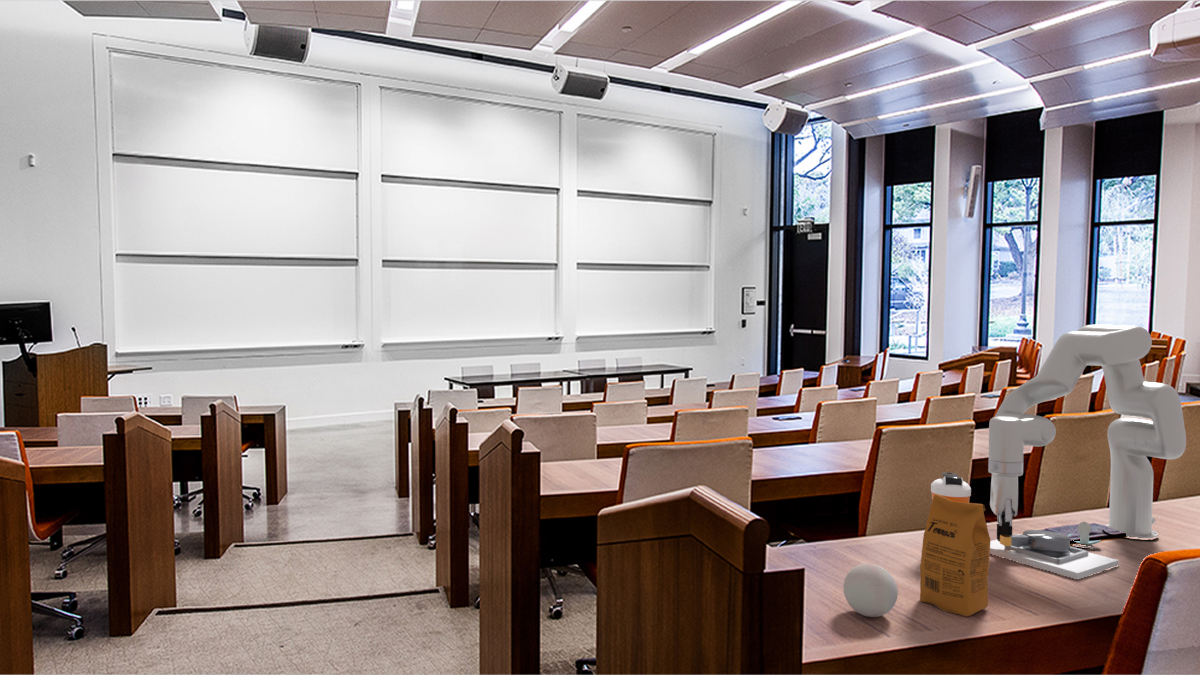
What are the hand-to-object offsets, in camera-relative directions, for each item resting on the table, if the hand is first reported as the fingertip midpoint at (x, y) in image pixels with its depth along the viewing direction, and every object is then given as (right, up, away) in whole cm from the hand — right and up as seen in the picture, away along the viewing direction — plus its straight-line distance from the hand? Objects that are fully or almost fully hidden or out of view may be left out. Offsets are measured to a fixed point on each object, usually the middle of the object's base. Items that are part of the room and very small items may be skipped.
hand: (1004, 540), depth 188 cm
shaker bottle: (-14, -4, -1) cm, 15 cm away
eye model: (-47, -5, -38) cm, 60 cm away
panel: (+9, -4, -2) cm, 10 cm away
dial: (+6, -2, -2) cm, 7 cm away
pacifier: (+24, -4, +8) cm, 26 cm away
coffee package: (-28, -5, -32) cm, 43 cm away
